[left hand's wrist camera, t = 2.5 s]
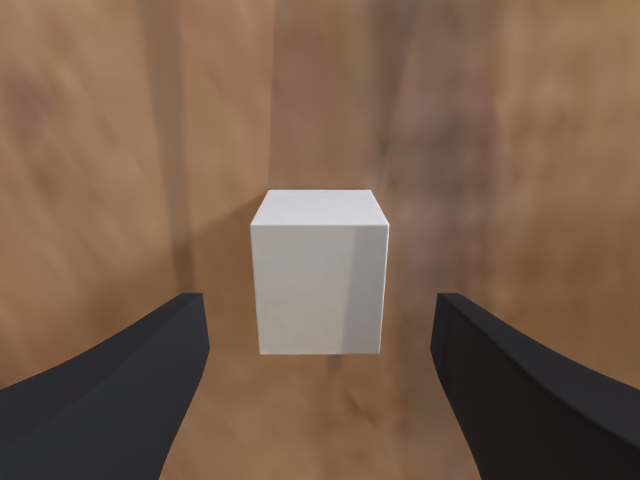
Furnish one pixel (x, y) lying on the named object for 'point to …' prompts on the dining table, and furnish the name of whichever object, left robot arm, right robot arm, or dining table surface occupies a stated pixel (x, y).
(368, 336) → the block
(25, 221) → the dining table surface
